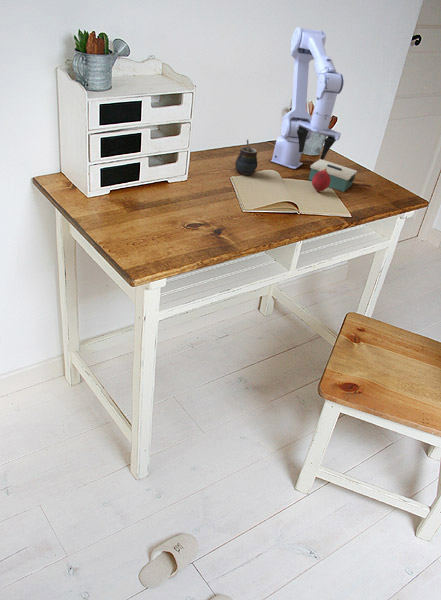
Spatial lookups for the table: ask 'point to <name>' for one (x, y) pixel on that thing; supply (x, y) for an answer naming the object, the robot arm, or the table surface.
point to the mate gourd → (246, 160)
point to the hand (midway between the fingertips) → (311, 155)
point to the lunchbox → (334, 174)
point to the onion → (321, 180)
